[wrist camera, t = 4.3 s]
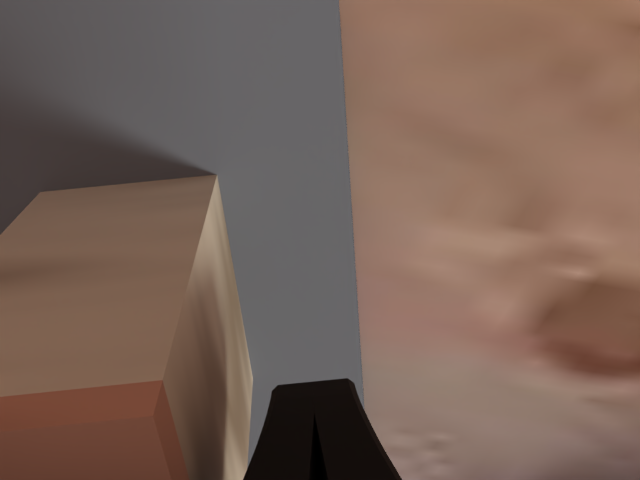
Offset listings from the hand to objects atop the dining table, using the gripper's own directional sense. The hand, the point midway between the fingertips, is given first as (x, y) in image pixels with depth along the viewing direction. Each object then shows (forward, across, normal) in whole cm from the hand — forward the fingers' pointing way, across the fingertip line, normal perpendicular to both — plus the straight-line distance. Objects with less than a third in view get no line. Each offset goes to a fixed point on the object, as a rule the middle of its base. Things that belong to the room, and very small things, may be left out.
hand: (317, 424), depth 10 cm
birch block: (+5, +4, 0) cm, 6 cm away
